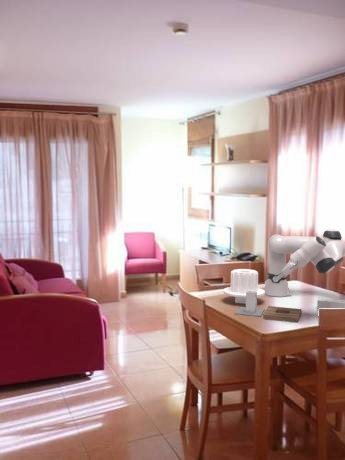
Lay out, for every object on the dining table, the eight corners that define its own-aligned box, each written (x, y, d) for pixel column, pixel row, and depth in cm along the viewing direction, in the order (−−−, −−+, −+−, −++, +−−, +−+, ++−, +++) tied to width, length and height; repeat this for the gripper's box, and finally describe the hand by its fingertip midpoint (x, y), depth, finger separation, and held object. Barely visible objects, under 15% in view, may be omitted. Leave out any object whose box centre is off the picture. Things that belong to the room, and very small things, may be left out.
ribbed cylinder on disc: (264, 308, 252) (265, 275, 251) (221, 305, 257) (222, 274, 256) (264, 297, 277) (265, 268, 275) (225, 295, 282) (225, 266, 280)
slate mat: (240, 307, 253) (240, 306, 253) (264, 310, 248) (264, 309, 248) (234, 314, 240) (234, 313, 240) (260, 316, 235) (260, 315, 235)
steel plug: (247, 310, 246) (248, 290, 245) (256, 311, 244) (257, 291, 243) (245, 312, 241) (245, 292, 240) (254, 313, 239) (254, 293, 238)
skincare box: (317, 297, 254) (344, 298, 250) (317, 307, 255) (344, 309, 250) (317, 300, 246) (345, 302, 242) (317, 311, 247) (345, 313, 242)
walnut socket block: (268, 310, 248) (268, 305, 248) (301, 313, 241) (301, 309, 241) (263, 318, 231) (263, 314, 231) (298, 322, 225) (298, 317, 224)
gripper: (300, 268, 221) (280, 285, 226) (303, 261, 240) (285, 277, 245) (292, 258, 222) (271, 276, 227) (295, 253, 242) (277, 269, 246)
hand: (278, 276), depth 236 cm, fingers open, 8 cm apart
